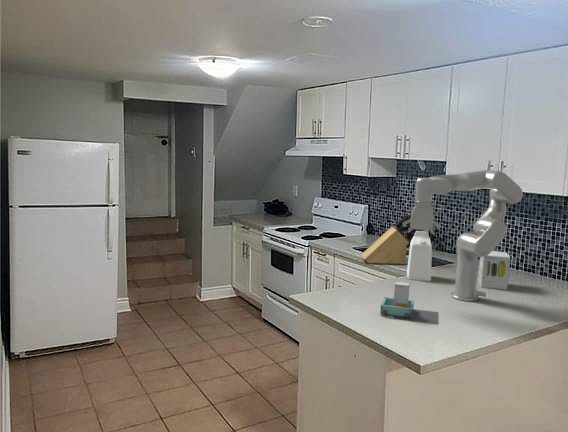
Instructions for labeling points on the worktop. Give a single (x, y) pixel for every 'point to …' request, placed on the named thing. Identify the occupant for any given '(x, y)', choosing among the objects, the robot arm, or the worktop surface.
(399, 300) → the skincare box
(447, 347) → the worktop surface
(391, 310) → the teal open tray
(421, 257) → the milk
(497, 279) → the supplement box
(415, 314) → the mat
